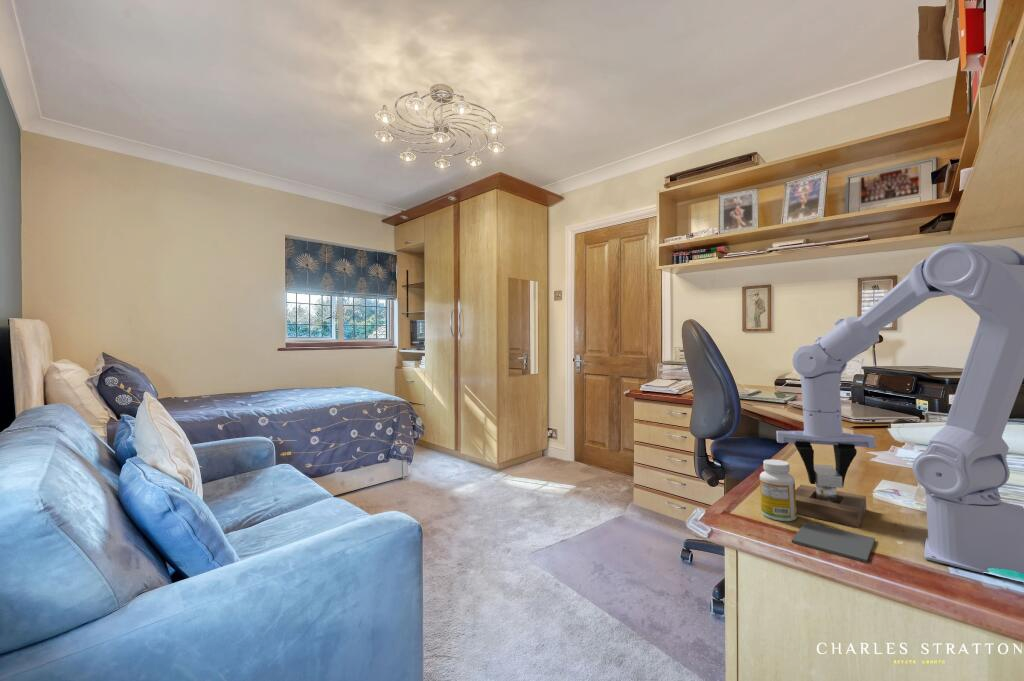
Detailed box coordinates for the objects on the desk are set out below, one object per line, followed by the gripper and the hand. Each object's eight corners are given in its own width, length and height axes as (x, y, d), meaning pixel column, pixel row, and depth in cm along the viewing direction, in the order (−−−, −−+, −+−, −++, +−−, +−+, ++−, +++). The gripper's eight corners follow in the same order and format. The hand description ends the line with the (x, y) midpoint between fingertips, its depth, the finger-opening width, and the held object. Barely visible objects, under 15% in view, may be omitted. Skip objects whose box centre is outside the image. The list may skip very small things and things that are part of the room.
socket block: (866, 509, 75) (865, 496, 75) (858, 527, 68) (857, 512, 69) (801, 496, 83) (800, 484, 83) (788, 511, 76) (787, 498, 76)
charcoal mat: (875, 540, 64) (874, 537, 64) (866, 562, 58) (866, 559, 58) (805, 524, 71) (805, 521, 71) (791, 542, 64) (791, 539, 64)
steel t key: (844, 513, 72) (841, 476, 72) (819, 510, 73) (817, 474, 73) (834, 499, 78) (832, 465, 78) (811, 497, 79) (809, 463, 80)
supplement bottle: (776, 508, 78) (773, 456, 78) (804, 519, 73) (801, 464, 73) (754, 512, 76) (751, 460, 76) (781, 524, 71) (778, 467, 71)
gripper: (865, 408, 76) (869, 481, 76) (773, 406, 83) (776, 473, 83) (877, 414, 70) (882, 494, 70) (777, 411, 77) (781, 484, 76)
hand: (825, 483), depth 76 cm, fingers closed on steel t key, 3 cm apart
